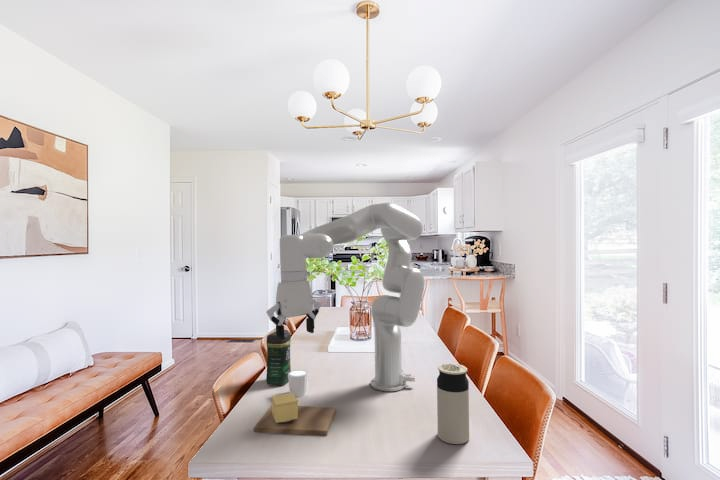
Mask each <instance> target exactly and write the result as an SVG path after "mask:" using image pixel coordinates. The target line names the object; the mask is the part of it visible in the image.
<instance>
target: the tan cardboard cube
mask: <svg viewBox="0 0 720 480" xmlns="http://www.w3.org/2000/svg"><path fill="white" fill-rule="evenodd" d="M271 405H272V414H273V417H274V419H275V422H276V423H278V422H283V421H288V420H293V419H298V406H299V403H298V398H297V397H295V395H294V394H293V393H290V392H288V393H283V394H278V395H277V394H276V395H272V396H271Z"/></svg>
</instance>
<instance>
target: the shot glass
mask: <svg viewBox="0 0 720 480" xmlns="http://www.w3.org/2000/svg"><path fill="white" fill-rule="evenodd" d="M288 380H289V381H288V388H289V393H293V394H294V395H295V397H296V398H301V397H304V396H306V395H307V393H308V383H309V382H308V381H309V371H307V370H305V369H296V370H291V372H289V373H288Z"/></svg>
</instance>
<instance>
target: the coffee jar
mask: <svg viewBox="0 0 720 480" xmlns="http://www.w3.org/2000/svg"><path fill="white" fill-rule="evenodd" d="M291 340H292V339H291V332H290V331H289V330H288V329H284V339H283V340H281V339H279V338H278V337H277V335H276V330H274V331H273V332H271V333H270V334H268V335H267V336H266V381H265V382H266V384H267V385H270V386H273V387H277V386H283V385H286V384H287V383H289V380H288V373H289V372H291V371H292V369H291V367H292V366H291V344H292V343H291Z"/></svg>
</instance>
